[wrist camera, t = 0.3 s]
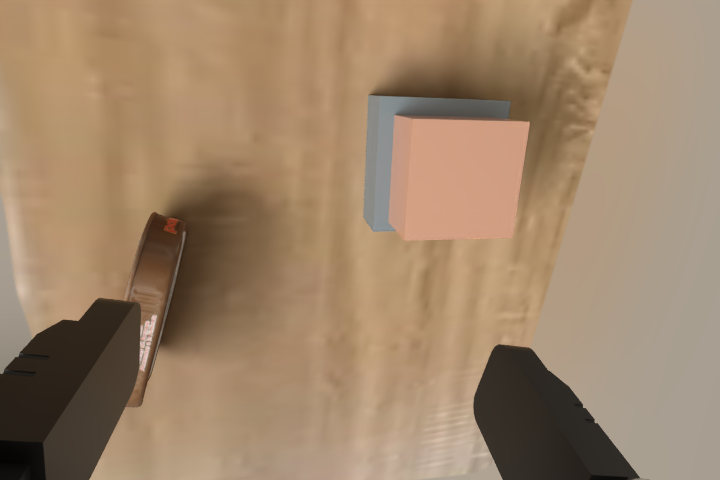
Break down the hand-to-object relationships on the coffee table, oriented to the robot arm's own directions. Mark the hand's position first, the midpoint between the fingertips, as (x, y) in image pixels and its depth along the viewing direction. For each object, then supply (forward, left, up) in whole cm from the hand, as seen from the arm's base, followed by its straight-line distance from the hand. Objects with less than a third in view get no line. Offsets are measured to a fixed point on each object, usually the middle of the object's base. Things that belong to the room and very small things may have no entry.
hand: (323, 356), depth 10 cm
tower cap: (0, +11, -23) cm, 26 cm away
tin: (+10, -11, -28) cm, 31 cm away
